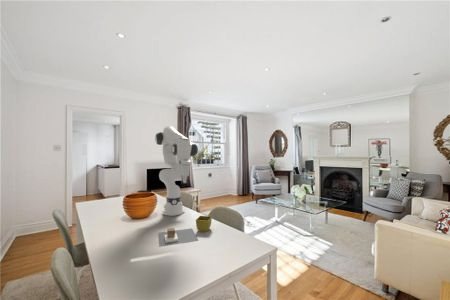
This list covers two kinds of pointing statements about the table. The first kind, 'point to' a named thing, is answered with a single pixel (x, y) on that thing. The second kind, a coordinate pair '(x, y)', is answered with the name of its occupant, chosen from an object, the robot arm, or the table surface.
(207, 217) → the flower pot
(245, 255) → the table surface
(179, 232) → the board
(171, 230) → the walnut block
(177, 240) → the tile
